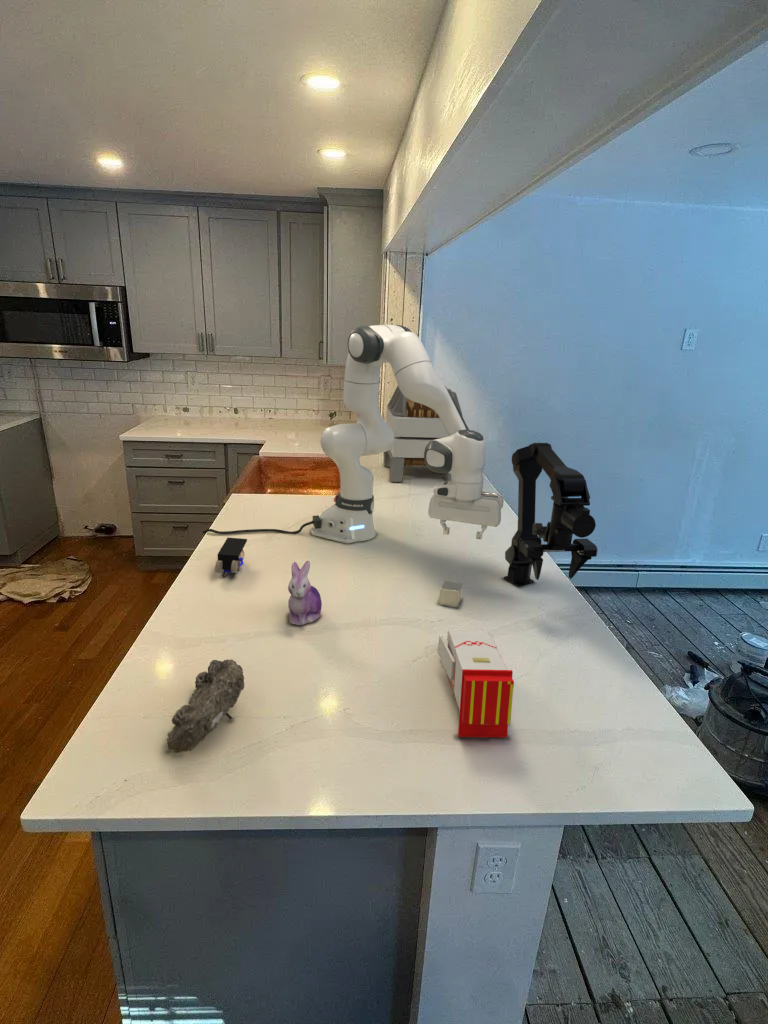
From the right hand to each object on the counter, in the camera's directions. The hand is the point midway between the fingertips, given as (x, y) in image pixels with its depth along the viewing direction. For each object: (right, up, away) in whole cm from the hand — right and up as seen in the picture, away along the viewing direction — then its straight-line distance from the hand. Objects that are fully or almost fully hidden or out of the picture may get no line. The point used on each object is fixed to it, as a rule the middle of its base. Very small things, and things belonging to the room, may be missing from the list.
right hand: (553, 578), depth 146 cm
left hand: (-22, +10, +15) cm, 28 cm away
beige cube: (-26, -7, +8) cm, 28 cm away
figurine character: (-89, 0, +21) cm, 91 cm away
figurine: (-64, -10, -2) cm, 65 cm away
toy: (-26, -20, -28) cm, 43 cm away
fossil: (-77, -22, -38) cm, 88 cm away
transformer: (-27, +36, +129) cm, 136 cm away
